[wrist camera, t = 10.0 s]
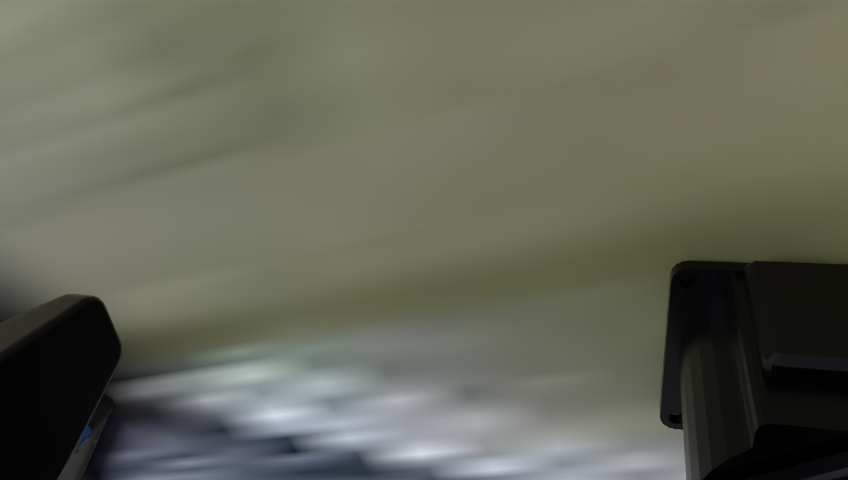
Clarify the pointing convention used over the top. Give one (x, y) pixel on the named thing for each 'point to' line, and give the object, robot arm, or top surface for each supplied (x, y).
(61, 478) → the blue bin
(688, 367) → the robot arm
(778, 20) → the top surface
